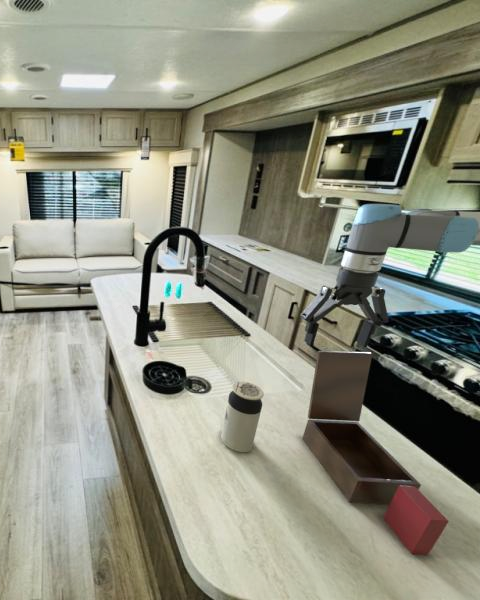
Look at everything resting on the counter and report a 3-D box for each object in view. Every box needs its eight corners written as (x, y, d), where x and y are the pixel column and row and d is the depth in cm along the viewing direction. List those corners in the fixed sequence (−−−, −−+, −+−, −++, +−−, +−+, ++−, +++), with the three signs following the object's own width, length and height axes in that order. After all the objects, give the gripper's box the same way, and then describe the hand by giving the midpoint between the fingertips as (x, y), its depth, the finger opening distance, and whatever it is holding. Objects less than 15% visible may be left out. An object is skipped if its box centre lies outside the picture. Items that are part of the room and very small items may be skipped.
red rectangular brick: (397, 518, 68) (414, 486, 64) (428, 555, 61) (449, 521, 57) (382, 517, 68) (399, 485, 64) (411, 553, 61) (431, 520, 58)
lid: (372, 353, 80) (355, 345, 86) (319, 351, 82) (306, 344, 87) (359, 421, 84) (343, 409, 90) (309, 419, 86) (296, 407, 91)
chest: (409, 506, 70) (421, 484, 68) (348, 502, 71) (358, 480, 69) (350, 441, 87) (357, 421, 85) (302, 438, 89) (308, 419, 86)
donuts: (165, 294, 199) (166, 279, 196) (181, 295, 196) (183, 280, 192) (163, 299, 191) (164, 283, 187) (180, 301, 187) (182, 285, 184)
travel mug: (255, 440, 88) (268, 388, 82) (247, 458, 83) (260, 403, 76) (226, 426, 93) (236, 376, 87) (216, 442, 88) (226, 390, 81)
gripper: (315, 273, 75) (294, 349, 83) (428, 274, 72) (396, 352, 80) (297, 264, 82) (279, 336, 89) (400, 265, 79) (373, 338, 87)
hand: (334, 344), depth 85 cm, fingers open, 13 cm apart
